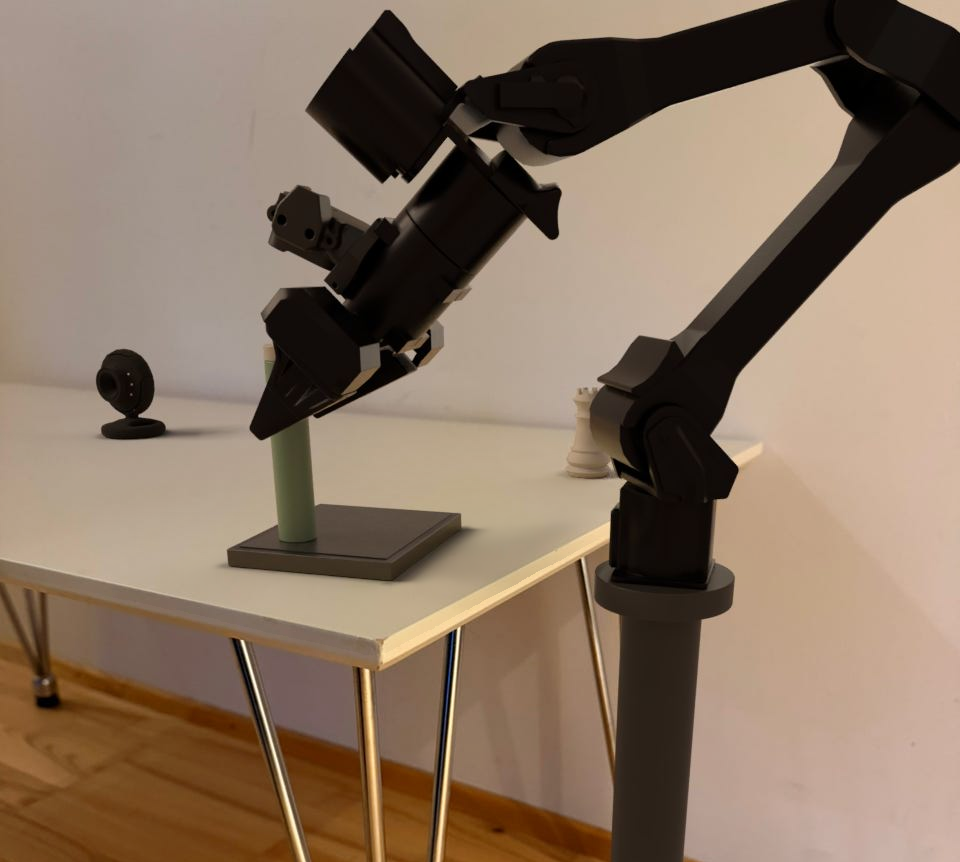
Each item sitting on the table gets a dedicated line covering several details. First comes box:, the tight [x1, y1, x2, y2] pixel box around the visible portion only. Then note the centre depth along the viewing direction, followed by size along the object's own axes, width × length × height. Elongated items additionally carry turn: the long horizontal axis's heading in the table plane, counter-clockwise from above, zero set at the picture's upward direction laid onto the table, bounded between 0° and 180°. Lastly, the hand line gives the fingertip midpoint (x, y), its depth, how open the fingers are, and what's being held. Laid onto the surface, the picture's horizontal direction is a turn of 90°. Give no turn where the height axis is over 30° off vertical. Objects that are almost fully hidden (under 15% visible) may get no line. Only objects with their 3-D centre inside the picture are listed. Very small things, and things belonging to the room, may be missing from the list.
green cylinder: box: [262, 342, 317, 543], centre depth 66 cm, size 3×3×13 cm
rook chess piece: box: [564, 386, 612, 479], centre depth 93 cm, size 4×4×8 cm
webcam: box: [95, 348, 167, 440], centre depth 118 cm, size 8×8×10 cm
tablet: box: [226, 503, 462, 581], centre depth 71 cm, size 12×14×1 cm
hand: (285, 423), depth 65 cm, fingers open, 9 cm apart
